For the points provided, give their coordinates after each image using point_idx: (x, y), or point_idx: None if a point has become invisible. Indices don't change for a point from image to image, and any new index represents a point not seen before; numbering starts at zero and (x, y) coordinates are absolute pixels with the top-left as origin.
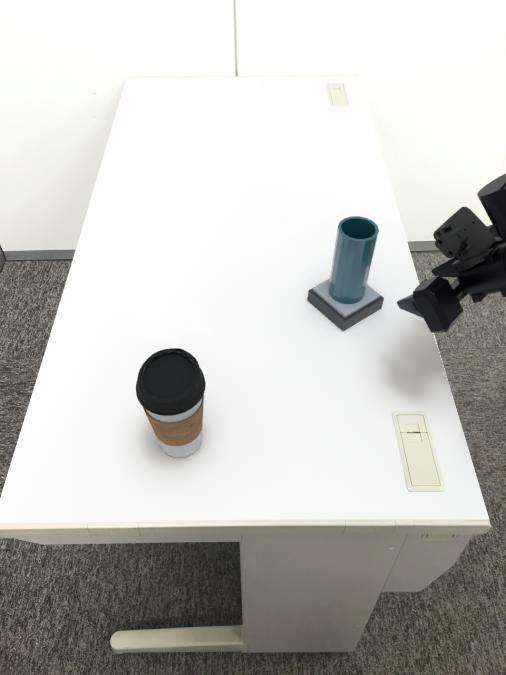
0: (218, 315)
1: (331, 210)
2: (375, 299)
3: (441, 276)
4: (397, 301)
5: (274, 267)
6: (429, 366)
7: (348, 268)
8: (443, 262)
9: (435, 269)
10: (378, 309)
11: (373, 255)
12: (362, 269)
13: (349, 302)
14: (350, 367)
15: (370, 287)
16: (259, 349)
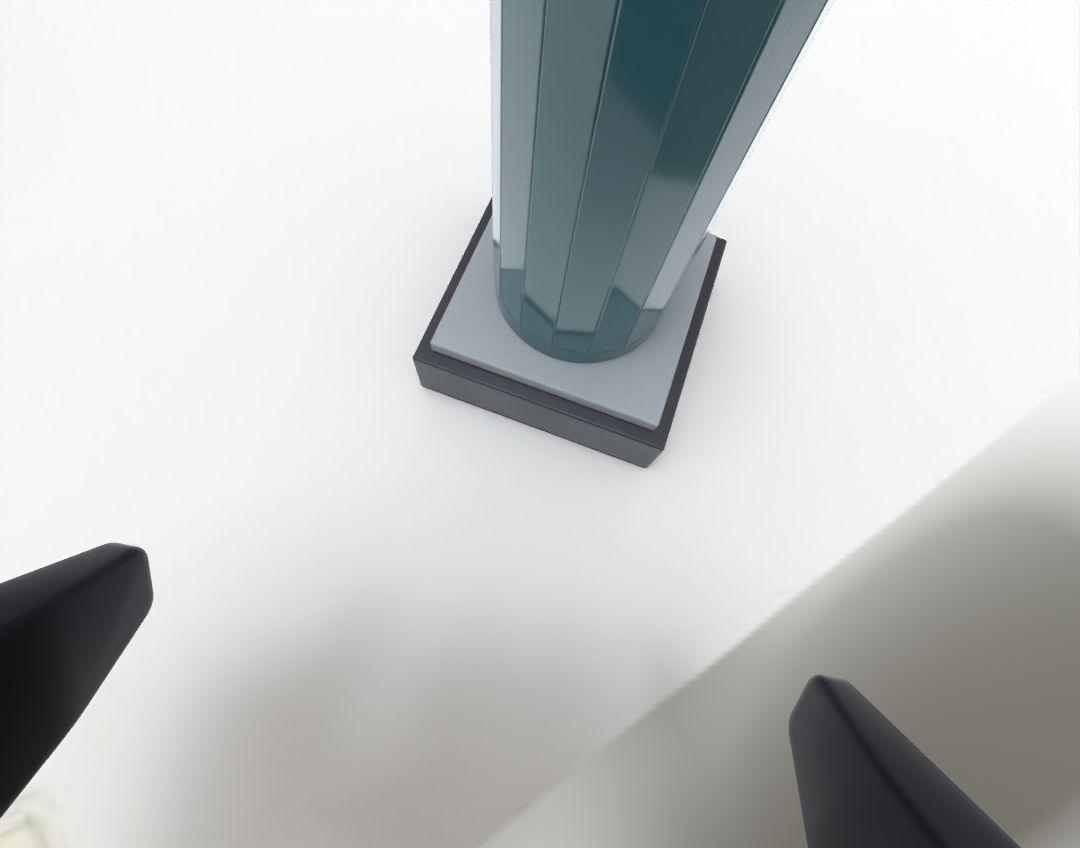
0: (273, 12)
1: (1011, 90)
2: (622, 417)
3: (805, 826)
4: (103, 546)
5: None
6: (418, 838)
7: (495, 114)
8: (980, 823)
9: (836, 726)
10: (625, 460)
11: (697, 179)
12: (551, 191)
13: (510, 321)
14: (236, 497)
15: (674, 364)
16: (177, 173)
